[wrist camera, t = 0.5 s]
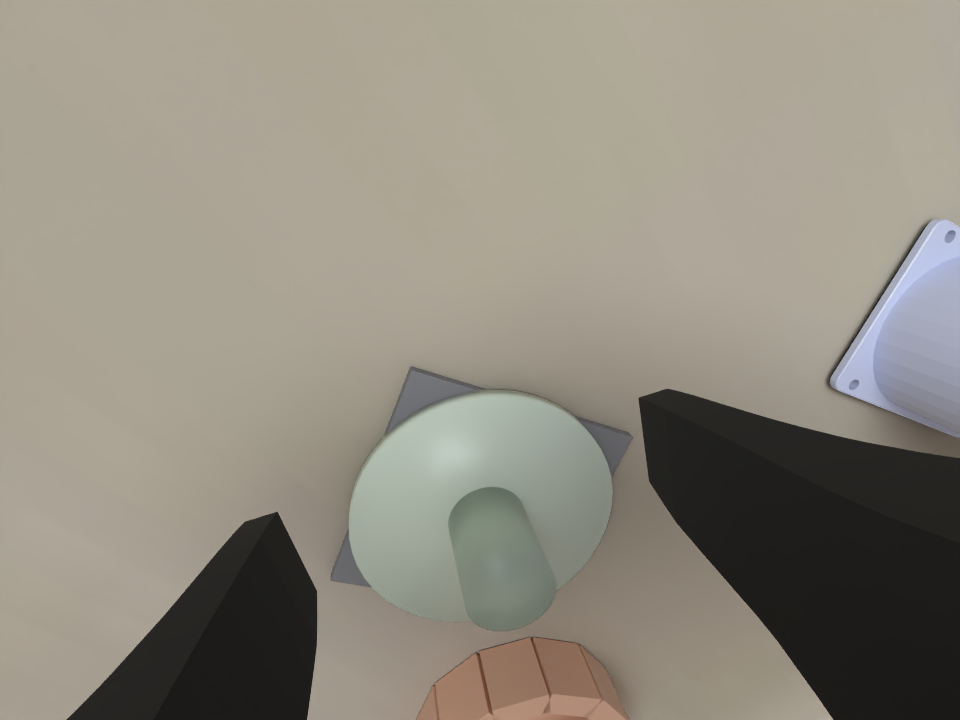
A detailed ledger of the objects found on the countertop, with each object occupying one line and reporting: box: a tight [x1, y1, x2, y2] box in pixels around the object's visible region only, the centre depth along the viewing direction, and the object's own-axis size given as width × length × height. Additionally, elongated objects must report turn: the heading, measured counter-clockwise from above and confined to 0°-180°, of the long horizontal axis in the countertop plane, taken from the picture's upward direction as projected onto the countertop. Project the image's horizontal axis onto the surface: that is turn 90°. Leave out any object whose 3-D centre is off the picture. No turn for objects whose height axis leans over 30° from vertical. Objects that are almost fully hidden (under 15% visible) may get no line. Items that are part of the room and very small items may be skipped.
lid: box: [349, 390, 613, 631], centre depth 20 cm, size 11×11×5 cm
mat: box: [331, 367, 633, 587], centre depth 22 cm, size 10×10×1 cm
